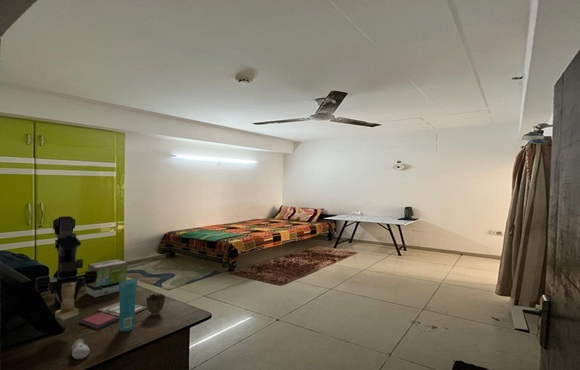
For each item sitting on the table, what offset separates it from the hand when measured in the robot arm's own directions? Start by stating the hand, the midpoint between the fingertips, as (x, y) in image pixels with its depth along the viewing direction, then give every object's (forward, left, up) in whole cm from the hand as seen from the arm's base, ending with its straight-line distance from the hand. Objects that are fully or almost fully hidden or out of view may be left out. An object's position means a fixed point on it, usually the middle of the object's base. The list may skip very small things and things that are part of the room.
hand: (68, 301), depth 109 cm
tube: (+14, +14, -13) cm, 23 cm away
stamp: (-1, +1, -7) cm, 7 cm away
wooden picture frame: (-2, +25, -13) cm, 28 cm away
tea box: (-28, +36, -13) cm, 47 cm away
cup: (+14, +28, -13) cm, 34 cm away
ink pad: (0, +13, -13) cm, 18 cm away
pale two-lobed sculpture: (+16, -5, -13) cm, 21 cm away
